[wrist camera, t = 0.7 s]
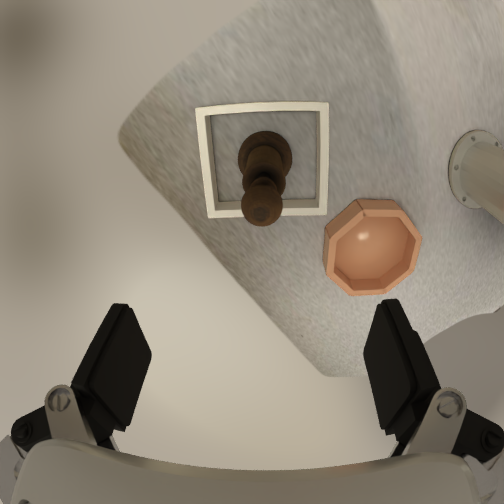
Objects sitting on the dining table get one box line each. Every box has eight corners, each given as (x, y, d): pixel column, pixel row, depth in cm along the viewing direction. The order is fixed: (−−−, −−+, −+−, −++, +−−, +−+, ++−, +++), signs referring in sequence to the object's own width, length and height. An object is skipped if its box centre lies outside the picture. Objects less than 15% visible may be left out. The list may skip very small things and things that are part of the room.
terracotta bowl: (417, 201, 36) (428, 210, 33) (400, 279, 43) (407, 292, 40) (326, 199, 37) (331, 209, 34) (320, 282, 45) (323, 297, 42)
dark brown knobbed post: (281, 186, 37) (289, 264, 22) (233, 172, 36) (205, 241, 21) (297, 139, 33) (322, 184, 18) (247, 124, 33) (227, 154, 18)
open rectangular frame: (323, 101, 31) (328, 102, 28) (322, 205, 38) (326, 215, 35) (201, 106, 32) (195, 108, 29) (212, 208, 39) (208, 218, 37)
